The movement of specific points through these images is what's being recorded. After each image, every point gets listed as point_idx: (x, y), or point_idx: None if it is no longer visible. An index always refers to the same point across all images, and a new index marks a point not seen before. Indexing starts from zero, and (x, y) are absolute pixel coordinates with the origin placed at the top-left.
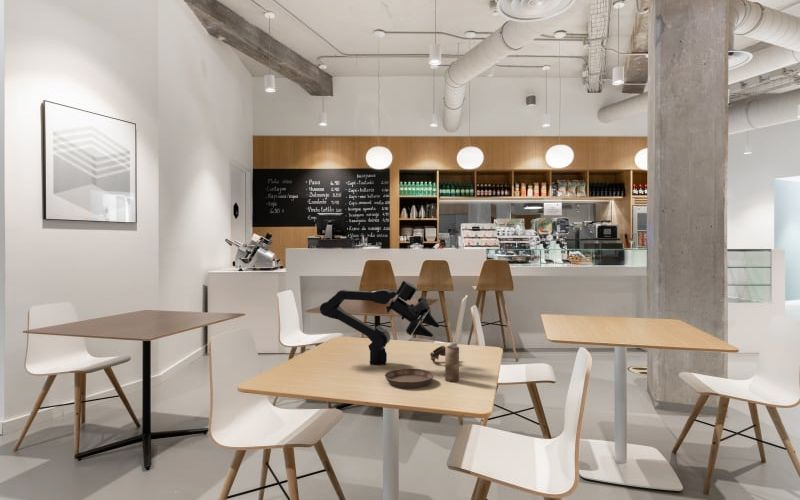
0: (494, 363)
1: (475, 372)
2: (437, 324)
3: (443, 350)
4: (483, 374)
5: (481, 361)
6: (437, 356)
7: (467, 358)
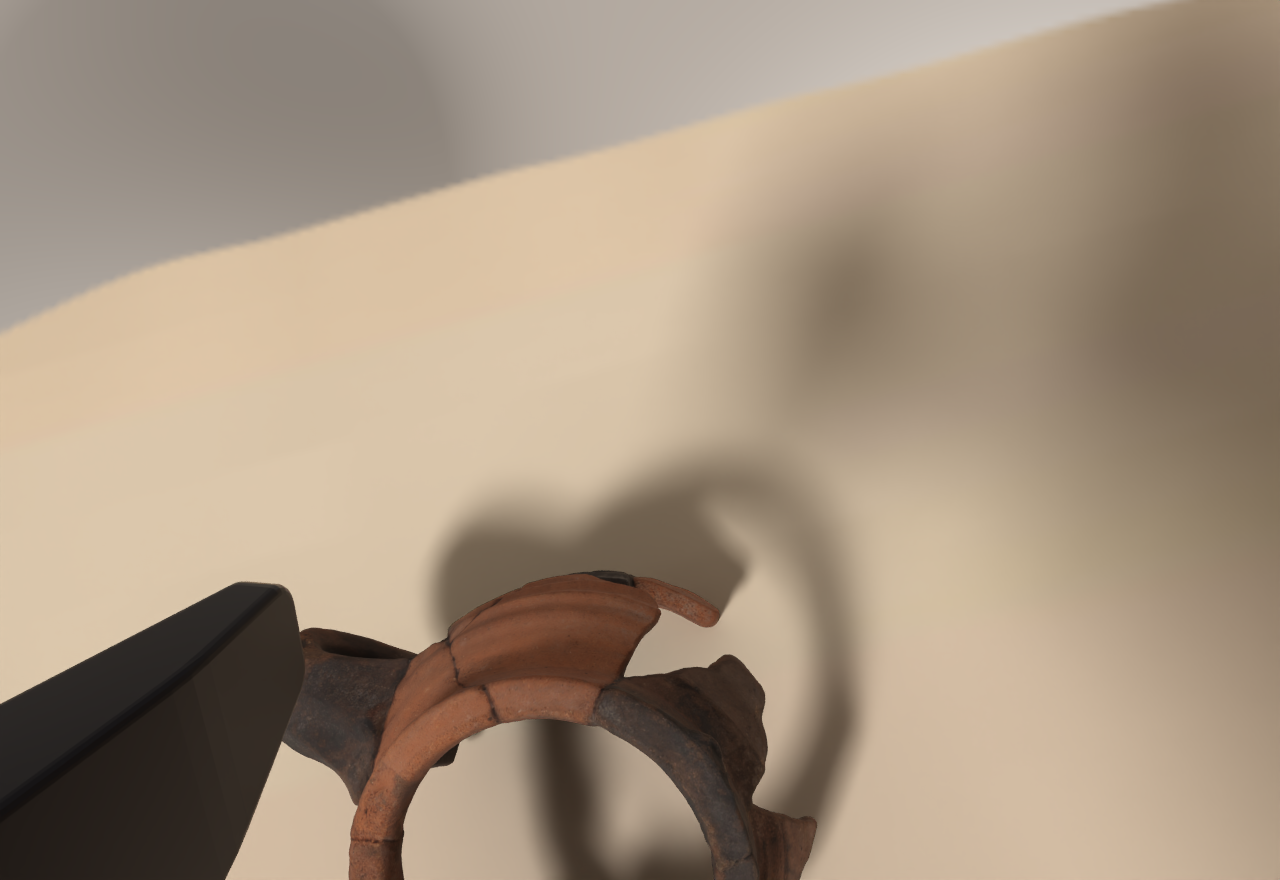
0: (485, 179)
1: (1024, 211)
2: (231, 641)
3: (651, 692)
4: (1082, 109)
5: (414, 318)
6: (786, 839)
7: (276, 510)
